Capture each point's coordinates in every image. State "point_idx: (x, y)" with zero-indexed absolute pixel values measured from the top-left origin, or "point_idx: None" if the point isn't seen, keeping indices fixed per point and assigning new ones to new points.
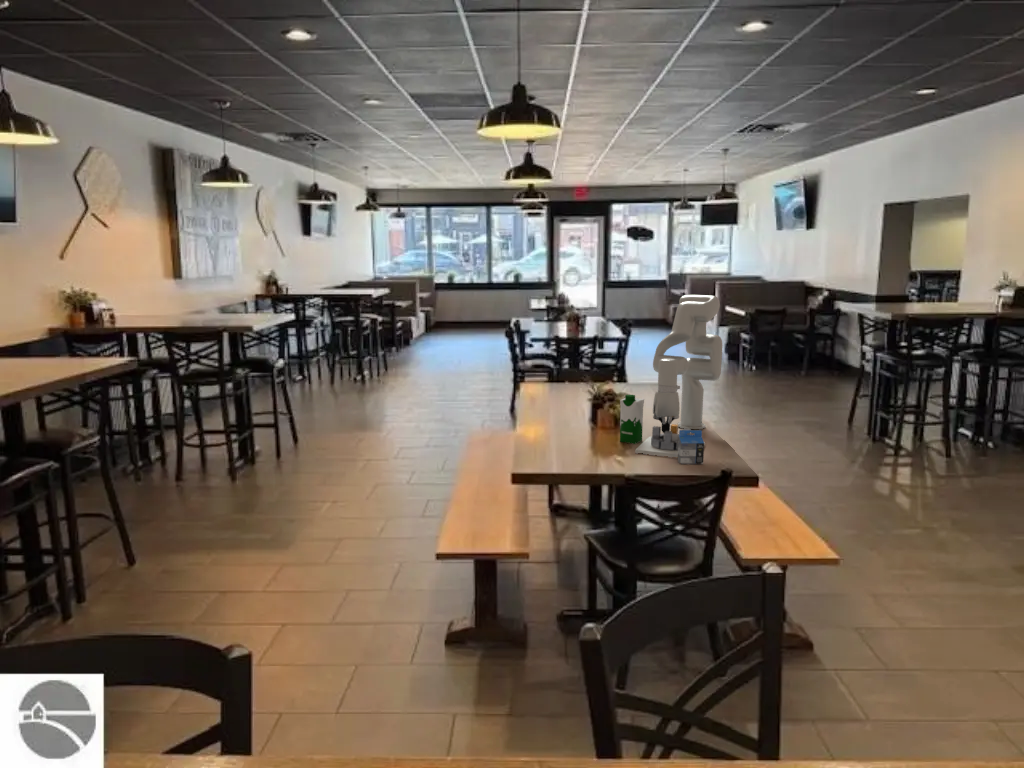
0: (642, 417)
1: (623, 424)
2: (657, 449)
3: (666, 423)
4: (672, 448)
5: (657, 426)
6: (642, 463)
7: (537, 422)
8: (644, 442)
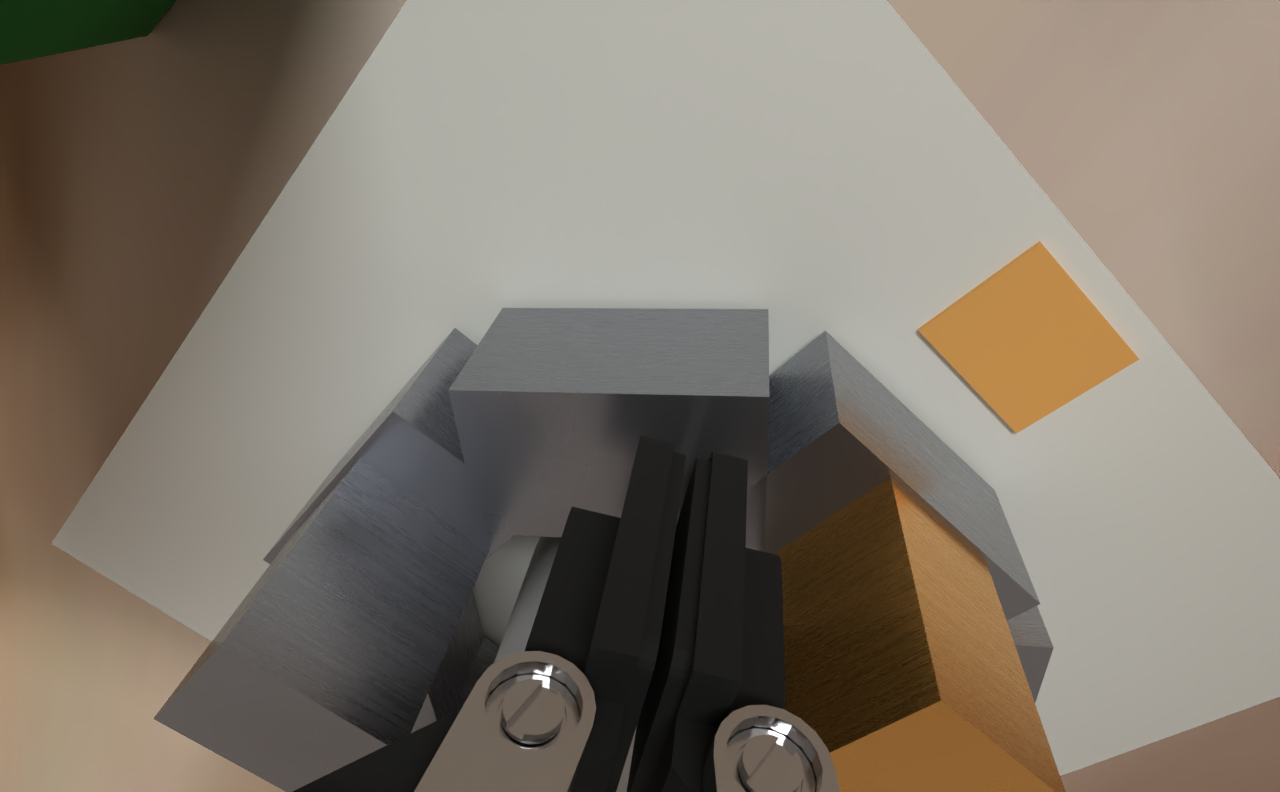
0: None
1: None
2: None
3: (663, 753)
4: None
5: (314, 714)
6: (130, 765)
7: None
8: (271, 261)
